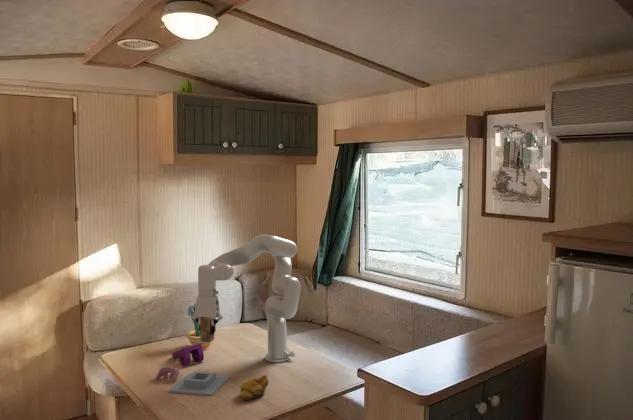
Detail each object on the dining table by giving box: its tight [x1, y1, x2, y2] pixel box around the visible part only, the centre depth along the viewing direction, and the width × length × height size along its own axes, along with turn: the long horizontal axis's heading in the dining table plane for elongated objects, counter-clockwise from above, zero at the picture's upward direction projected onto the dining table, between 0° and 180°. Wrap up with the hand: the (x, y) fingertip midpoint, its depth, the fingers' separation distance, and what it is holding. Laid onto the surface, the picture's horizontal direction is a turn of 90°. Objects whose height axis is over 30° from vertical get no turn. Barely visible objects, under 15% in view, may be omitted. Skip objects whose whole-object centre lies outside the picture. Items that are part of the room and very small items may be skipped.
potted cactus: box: [186, 301, 216, 351], centre depth 275 cm, size 15×15×25 cm
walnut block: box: [200, 317, 215, 342], centre depth 228 cm, size 4×4×11 cm
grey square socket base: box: [168, 370, 231, 397], centre depth 226 cm, size 20×20×4 cm
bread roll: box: [239, 374, 269, 401], centre depth 214 cm, size 13×10×8 cm
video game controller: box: [155, 365, 180, 384], centre depth 232 cm, size 10×5×7 cm, turn 71°
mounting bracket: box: [171, 344, 205, 368], centre depth 255 cm, size 10×8×18 cm
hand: (207, 333), depth 228 cm, fingers closed on walnut block, 4 cm apart
